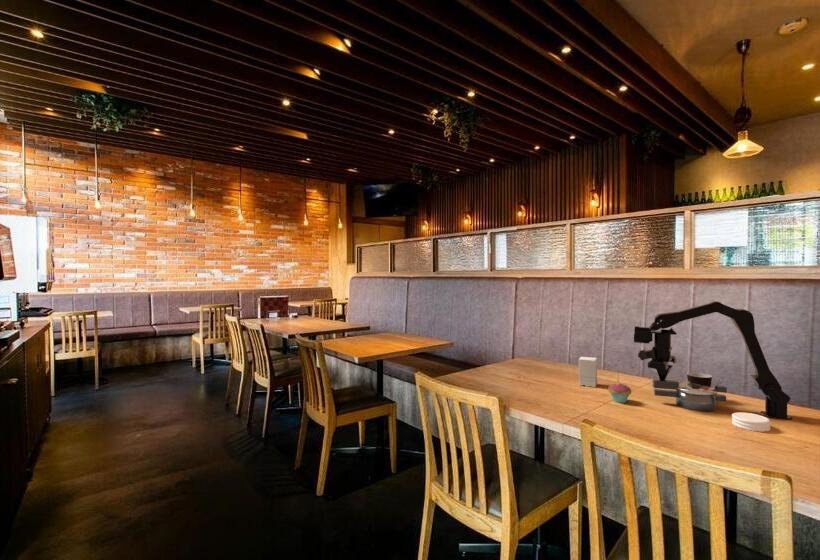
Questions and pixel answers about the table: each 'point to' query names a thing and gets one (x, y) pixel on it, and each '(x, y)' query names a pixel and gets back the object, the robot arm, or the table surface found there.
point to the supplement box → (588, 371)
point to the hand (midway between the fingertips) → (662, 382)
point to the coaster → (751, 421)
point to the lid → (688, 387)
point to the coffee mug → (699, 378)
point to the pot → (692, 400)
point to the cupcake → (619, 392)
